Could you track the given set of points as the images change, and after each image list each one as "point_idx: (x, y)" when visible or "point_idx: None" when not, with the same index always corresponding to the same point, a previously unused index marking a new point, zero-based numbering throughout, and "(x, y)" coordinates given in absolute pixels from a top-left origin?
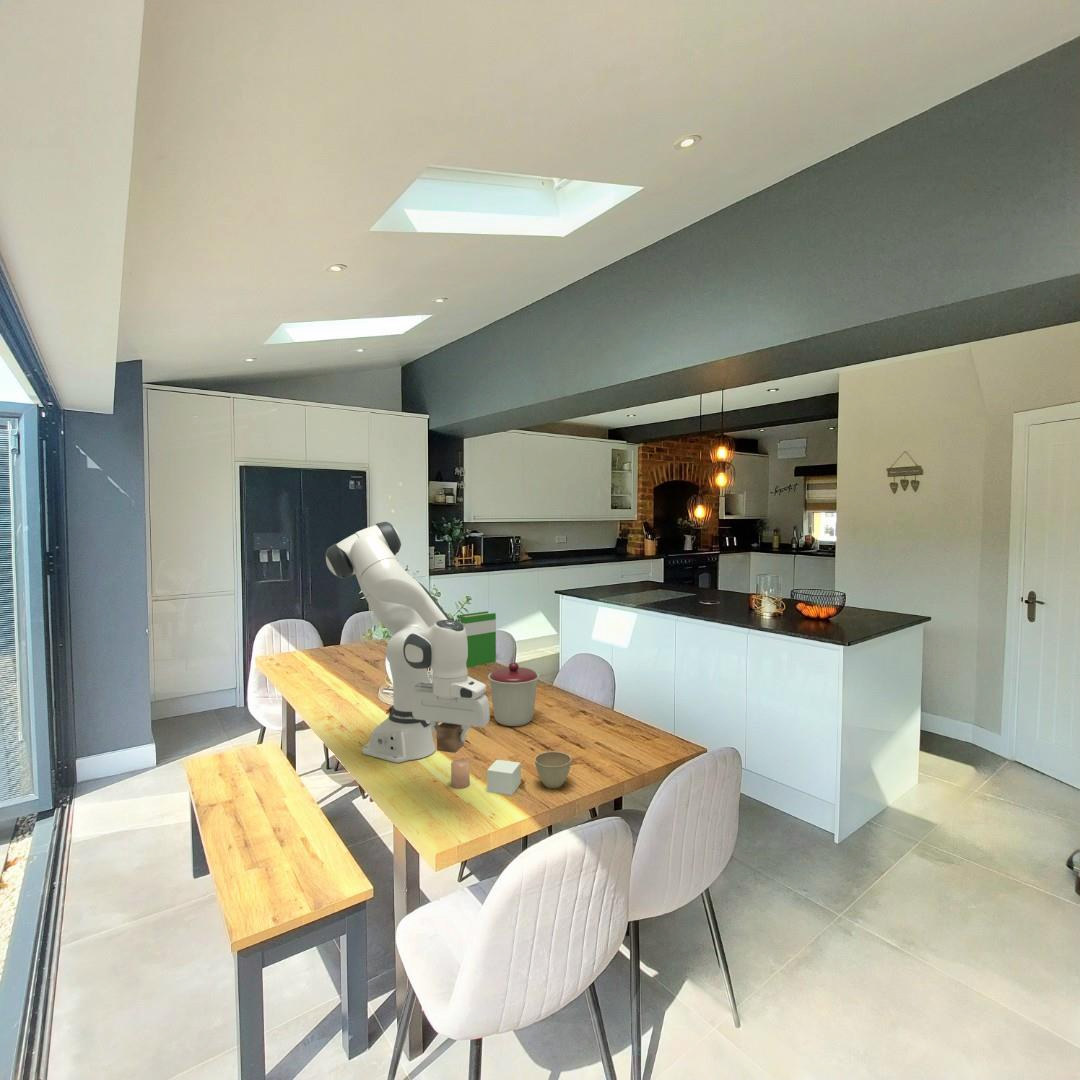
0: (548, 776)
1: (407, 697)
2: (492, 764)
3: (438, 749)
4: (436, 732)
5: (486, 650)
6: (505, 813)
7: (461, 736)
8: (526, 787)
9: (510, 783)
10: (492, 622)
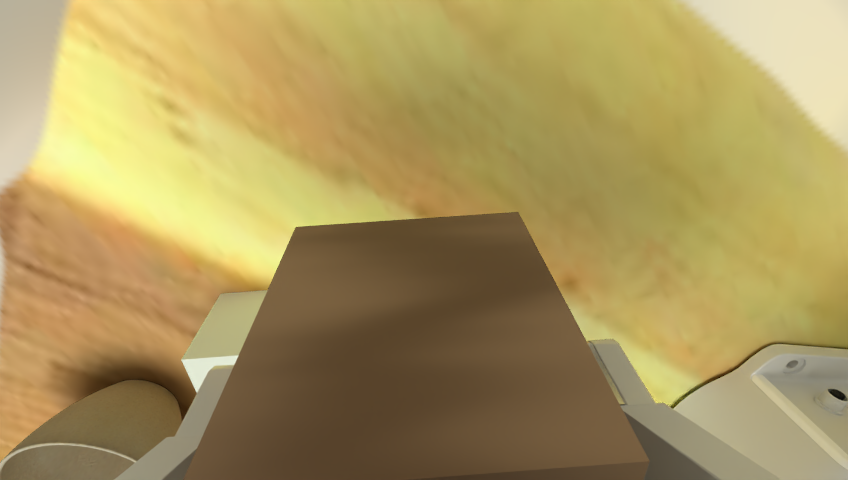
0: (84, 407)
1: None
2: None
3: (502, 219)
4: (624, 399)
5: None
6: (140, 160)
7: (206, 418)
8: None
9: (208, 325)
10: None
